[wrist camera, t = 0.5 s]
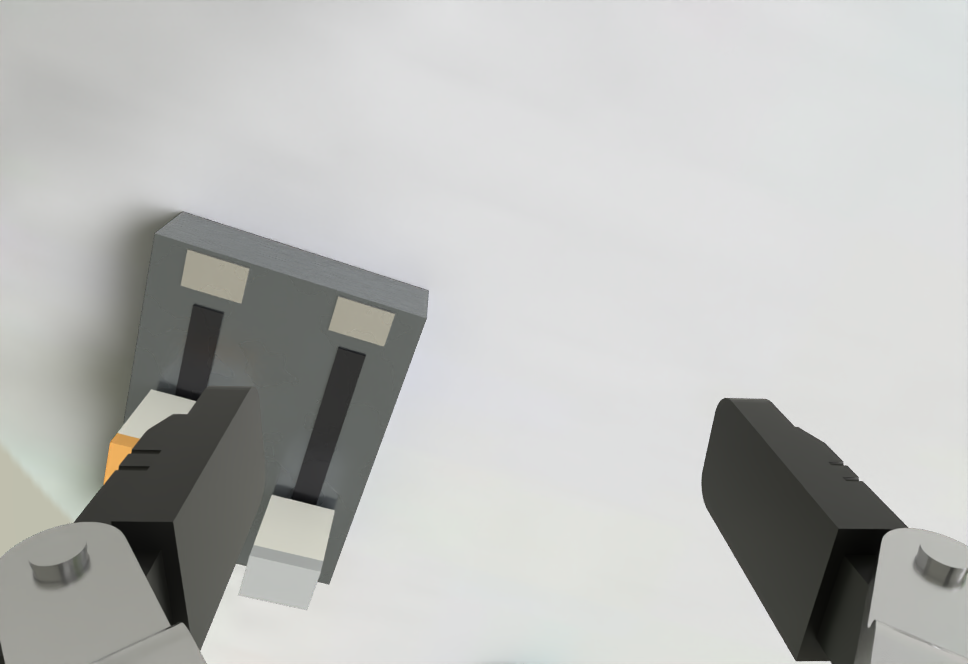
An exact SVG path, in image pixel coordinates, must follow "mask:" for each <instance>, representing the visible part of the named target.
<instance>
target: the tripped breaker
mask: <svg viewBox="0 0 968 664" xmlns="http://www.w3.org/2000/svg"><path fill="white" fill-rule="evenodd" d="M195 403H196V401H193V400H190V399H186V398H182V397H178V396H175V395H171V394H167V393H163V392H160V391H156V390H152V389H151V390H150V392H149V393H148V394H147V396H146V397H145V398H144V399H143V401H142V402H141V403H140V405H139V406H138V407H137V408H136V410H135V411H134V412H133V413H132V415H131V416H130V417H129V419H128V420H127V421H126V422H125V424H124V425H123V426H122V428H121V429H120V430H119V431H118V433H117V434H116V435H115V437H114V438H113V439H112V440H111V442H110V446H109V452H108V458H107V465H106V471H105V478H104V484H105V482H106V481H107V480H108V479H109V477H110V476H111V475H112V474H113V472H114V471H115V470H118V469H119V465H120V464H121V462H122V461H123V460H124V458H125V457H126V456H127V455H128V454H131V451H132V448H133V447H134V446H135V445H136V443H137V442H138V441H139V440H140V438H141V437H142V436H143V434H144V433H145V432H146V431H147V430H148V429H150V428H151V427H153V426H154V425H156V424H158V423H159V422H161V421H163V420H164V419H166V418H167V417H169V416H171V415H172V414H188V412H189V411H190V410H191V408H192V407H193V405H194V404H195ZM104 484H103V485H104Z"/></svg>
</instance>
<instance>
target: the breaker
mask: <svg viewBox="0 0 968 664" xmlns="http://www.w3.org/2000/svg"><path fill="white" fill-rule="evenodd" d="M334 512H335V510H332V509H327V508H323V507H319V506H315V505H311V504H307V503H303V502H299V501H295V500H291V499H287V498H283V497H279V496H275V495H272V496H271V498H270V501H269V504H268V507H267V509H266V512H265V515H264V518H263V520H262V523H261V526H260V529H259V531H258V534H257V537H256V539H255V542H254V545H253V548H252V550H251V553H250V556H249V559H248V563H247V566H246V570H245V573H244V577H243V580H242V584H241V587H240V590H239V594H238V595H239V596H243V597H248V598H253V599H257V600H262V601H266V602H271V603H276V604H280V605H285V606H290V607H294V608H299V609H304V610H307V609H308V607H309V604H310V601H311V598H312V595H313V592H314V590H315V587H316V584H317V581H318V578H319V576H320V573H321V569H322V565H323V560H324V556H325V552H326V547H327V543H328V538H329V534H330V530H331V525H332V521H333V517H334Z"/></svg>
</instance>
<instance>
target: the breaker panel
mask: <svg viewBox="0 0 968 664" xmlns="http://www.w3.org/2000/svg"><path fill="white" fill-rule="evenodd" d="M428 295H429V291H428V290H425V289H422V288H419V287H416V286H413V285H410V284H407V283H404V282H400V281H397V280H394V279H391V278H388V277H385V276H382V275H379V274H376V273H372V272H369V271H366V270H363V269H360V268H357V267H354V266H351V265H348V264H344V263H341V262H338V261H335V260H332V259H329V258H326V257H323V256H320V255H316V254H313V253H310V252H307V251H304V250H301V249H298V248H295V247H292V246H288V245H285V244H282V243H279V242H276V241H273V240H270V239H267V238H264V237H260V236H257V235H254V234H251V233H248V232H245V231H242V230H239V229H236V228H232V227H229V226H226V225H223V224H220V223H217V222H214V221H211V220H208V219H204V218H201V217H198V216H195V215H192V214H189V213H186V212H182V213H180V214H179V215H178V216H177V217H175V218H174V219H173V220H171V221H170V222H169V223H167V224H166V225H165V226H164V227H162V228H161V229H160V230H158V231H157V232H156V233H155V235H154V241H153V247H152V253H151V259H150V265H149V271H148V277H147V283H146V289H145V296H144V302H143V308H142V314H141V320H140V326H139V332H138V338H137V344H136V350H135V356H134V363H133V369H132V375H131V381H130V387H129V393H128V399H127V405H126V411H125V417H124V423H123V425H124V424H125V422H126V421H127V420H128V419H129V417H130V416H131V415H132V413H133V412H134V411H135V410H136V408H137V407H138V406H139V405H140V403H141V402H142V401H143V399H144V398H145V397H146V396H147V394H148V393H149V392H150V390H151V389H152V390H156V391H160V392H163V393H167V394H171V395H175V396H178V397H182V398H186V399H190V400H193V401H197V400H198V398H199V397H200V396H201V394H202V393H203V391H204V390H205V389H206V388H207V387H208V386H253V387H256V389H257V391H258V394H259V399H260V409H261V421H262V433H263V445H264V457H265V484H264V491H263V496H262V500H261V503H260V506H259V508H258V510H257V513H256V515H255V518H254V520H253V523H252V525H251V528H250V530H249V533H248V535H247V537H246V540H245V542H244V545H243V547H242V550H241V552H240V555H239V557H238V559H237V562H236V564H240V565H245V566H247V563H248V559H249V556H250V553H251V550H252V548H253V545H254V542H255V539H256V537H257V534H258V531H259V529H260V526H261V523H262V520H263V518H264V515H265V512H266V509H267V507H268V504H269V501H270V498H271V496H272V495H275V496H279V497H283V498H287V499H291V500H295V501H299V502H303V503H307V504H311V505H315V506H319V507H323V508H327V509H332V510H335V512H334V517H333V521H332V525H331V530H330V534H329V538H328V543H327V547H326V552H325V556H324V560H323V565H322V569H321V573H320V576H319V578H318V581H317V582H321V583H325V584H329V583H330V581H331V578H332V575H333V572H334V570H335V567H336V564H337V561H338V559H339V556H340V553H341V551H342V548H343V545H344V542H345V540H346V537H347V534H348V532H349V529H350V526H351V523H352V521H353V518H354V515H355V512H356V510H357V507H358V504H359V502H360V499H361V496H362V493H363V491H364V488H365V485H366V482H367V480H368V477H369V474H370V472H371V469H372V466H373V463H374V461H375V458H376V455H377V452H378V450H379V447H380V444H381V442H382V439H383V436H384V433H385V431H386V428H387V425H388V422H389V420H390V417H391V414H392V412H393V409H394V406H395V403H396V401H397V398H398V395H399V393H400V390H401V387H402V384H403V382H404V379H405V376H406V373H407V371H408V368H409V365H410V363H411V360H412V357H413V354H414V352H415V349H416V346H417V343H418V341H419V338H420V335H421V333H422V330H423V327H424V324H425V322H426V319H427V308H428Z"/></svg>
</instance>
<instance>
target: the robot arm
mask: <svg viewBox="0 0 968 664" xmlns="http://www.w3.org/2000/svg"><path fill="white" fill-rule="evenodd" d="M264 484H265V457H264V445H263V433H262V421H261V409H260V399H259V394H258V391H257V389H256V387H253V386H208V387H207V388H206V389H205V390H204V391H203V393H202V394H201V396H200V397H199V398H198V400H197V401H196V403H195V404H194V405H193V407H192V408H191V410H190V411H189V412H188V414H172V415H171V416H169V417H167V418H166V419H164V420H163V421H161V422H159V423H158V424H156V425H154V426H153V427H151V428H150V429H148V430H147V431H146V432H145V433H144V434H143V436H142V437H141V438H140V440H139V441H138V442H137V443H136V445H135V446H134V447H133V448H132V451H131V454H128V455H127V456H126V457H125V458H124V460H123V461H122V462H121V464H120V465H119V469H118V470H115V471H114V472H113V474H112V475H111V476H110V477H109V479H108V480H107V481H106V482H105V484H104V485H103V486H102V488H101V489H100V490H99V491H98V493H97V494H96V495H95V496H94V498H93V499H92V500H91V501H90V503H89V504H88V505H87V506H86V508H85V509H84V510H83V512H82V513H81V514H80V515H79V517H78V518H77V519H76V520H75V522H74V523H71V524H66V525H61V526H58V527H54V528H51V529H47V530H45V531H42V532H40V533H37V534H35V535H33V536H31V537H29V538H27V539H25V540H23V541H22V542H20V543H19V544H17V545H15V546H14V547H13V548H11V549H10V550H9V551H7V552H6V553H5V554H4V555H3V556H2V557H1V558H0V664H207V663H206V661H205V660H204V658H203V656H202V654H201V652H200V650H201V648H202V645H203V643H204V640H205V638H206V635H207V633H208V630H209V628H210V626H211V623H212V621H213V618H214V616H215V613H216V611H217V608H218V606H219V604H220V601H221V599H222V596H223V594H224V591H225V589H226V586H227V584H228V582H229V579H230V577H231V574H232V572H233V569H234V567H235V564H236V562H237V559H238V557H239V555H240V552H241V550H242V547H243V545H244V542H245V540H246V537H247V535H248V533H249V530H250V528H251V525H252V523H253V520H254V518H255V515H256V513H257V510H258V508H259V506H260V503H261V500H262V496H263V491H264ZM702 494H703V499H704V503H705V505H706V508H707V510H708V511H709V513H710V515H711V517H712V518H713V520H714V522H715V523H716V525H717V527H718V529H719V530H720V532H721V534H722V535H723V537H724V539H725V541H726V542H727V544H728V546H729V547H730V549H731V551H732V553H733V554H734V556H735V558H736V559H737V561H738V563H739V565H740V566H741V568H742V570H743V571H744V573H745V575H746V577H747V578H748V580H749V582H750V583H751V585H752V587H753V589H754V590H755V592H756V594H757V595H758V597H759V599H760V601H761V602H762V604H763V606H764V607H765V609H766V611H767V613H768V614H769V616H770V618H771V619H772V621H773V623H774V625H775V626H776V628H777V630H778V631H779V633H780V635H781V637H782V638H783V640H784V642H785V643H786V645H787V647H788V649H789V650H790V652H791V654H792V655H793V657H794V659H795V661H831V663H832V664H968V546H967V545H965V544H963V543H961V542H959V541H957V540H955V539H952V538H950V537H947V536H945V535H942V534H939V533H935V532H932V531H927V530H923V529H916V528H908V527H907V526H906V525H905V524H904V523H903V522H902V521H901V520H900V519H899V518H898V517H897V516H896V515H895V514H894V513H893V512H892V511H891V510H890V509H889V508H888V506H887V505H886V504H885V503H884V502H883V501H882V500H881V499H880V498H879V497H878V496H877V495H876V494H875V493H874V492H873V491H872V490H871V489H870V488H869V487H868V486H867V485H866V484H865V483H864V482H863V481H859V477H858V476H857V475H856V474H855V473H854V472H853V471H852V470H851V469H850V468H849V467H848V466H844V465H843V461H842V460H841V459H840V458H839V457H838V456H837V455H836V454H835V453H834V452H833V451H832V450H831V449H830V448H829V447H828V446H827V445H826V444H825V443H824V442H822V441H820V440H819V439H817V438H815V437H814V436H812V435H810V434H809V433H807V432H805V431H804V430H802V429H800V428H799V427H794V425H793V424H792V423H791V422H790V421H789V420H788V419H787V418H786V417H785V416H784V415H783V414H782V413H781V412H780V411H779V410H778V409H777V408H776V407H775V405H774V404H773V403H772V402H770V401H769V400H767V399H745V398H724V399H722V400H721V401H720V402H719V404H718V406H717V408H716V412H715V416H714V421H713V425H712V430H711V434H710V439H709V444H708V448H707V453H706V458H705V462H704V467H703V472H702Z"/></svg>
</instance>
